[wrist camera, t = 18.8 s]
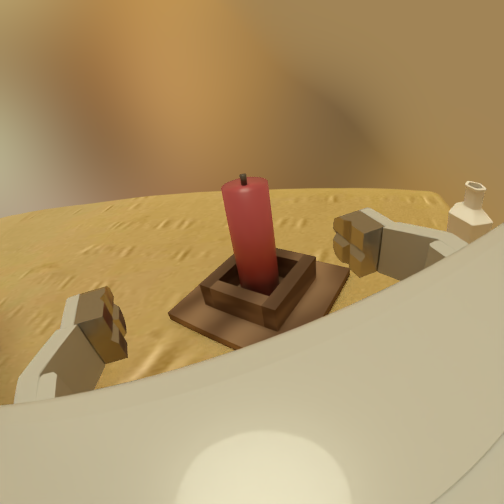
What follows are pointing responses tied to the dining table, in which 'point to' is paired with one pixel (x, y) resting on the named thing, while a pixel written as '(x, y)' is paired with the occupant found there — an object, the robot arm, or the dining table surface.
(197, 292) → the walnut stand
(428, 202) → the dining table surface
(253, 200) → the burgundy candle
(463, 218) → the perfume bottle
